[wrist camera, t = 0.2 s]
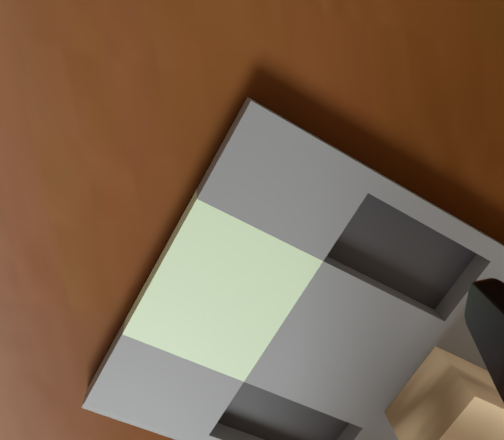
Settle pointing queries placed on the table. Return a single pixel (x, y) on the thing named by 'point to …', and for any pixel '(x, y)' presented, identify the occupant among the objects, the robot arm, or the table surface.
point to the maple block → (447, 402)
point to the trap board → (291, 297)
